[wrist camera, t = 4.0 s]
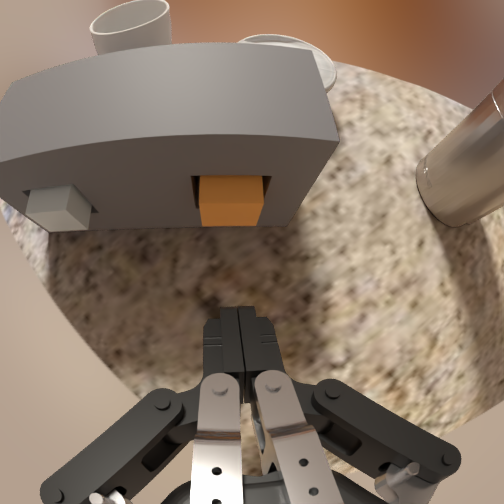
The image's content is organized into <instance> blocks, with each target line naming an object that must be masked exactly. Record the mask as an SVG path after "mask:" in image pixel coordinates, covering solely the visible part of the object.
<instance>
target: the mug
mask: <svg viewBox="0 0 504 504" xmlns="http://www.w3.org/2000/svg"><path fill="white" fill-rule="evenodd" d="M171 29H172V28H171V19H170V14H169V4H168V3H167V2H166V1H165V0H136V1H132V2H128V3H125V4H122V5H119V6H116V7H114V8H112V9H110V10H108V11H106V12H105V13H103V14H101V15H100V16H99V17H97V18H96V19H95V20H94V21H93V22H92V24H91V25H90V32H91V35H92V38H93V42H94V45H95V48H96V51H97V54H98V55H102V54H107V53H112V52H117V51H123V50H129V49H136V48H143V47H151V46H160V45H171V43H172V41H171V38H172V30H171Z"/></svg>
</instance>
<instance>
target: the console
mask: <svg viewBox="0 0 504 504" xmlns="http://www.w3.org/2000/svg"><path fill="white" fill-rule="evenodd" d="M339 142H340V140H339V136H338V132H337V129H336V125H335V121H334V118H333V114H332V111H331V107H330V104H329V101H328V97H327V94H326V91H325V88H324V85H323V81H322V78H321V75H320V72H319V69H318V67H317V64H316V61H315V58H314V55H313V52H312V50H307V49H300V48H293V47H284V46H275V45H264V44H249V43H185V44H171V45H160V46H151V47H143V48H136V49H129V50H123V51H117V52H112V53H107V54H102V55H98V56H94V57H89V58H85V59H81V60H77V61H73V62H70V63H66V64H63V65H59V66H56V67H53V68H50V69H47V70H44V71H41V72H38V73H35V74H33V75H30V76H27V77H25V78H22V79H20V80H17V81H15V82H12V83H11V85H10V87H9V89H8V90H7V92H6V94H5V95H4V97H3V99H2V100H1V102H0V198H1V199H3V200H4V201H5V202H7V203H8V204H9V205H11V206H12V207H13V208H15V209H16V210H17V211H19V212H20V213H21V214H23V215H24V216H26V217H27V218H28V219H30V220H31V221H33V222H34V223H35V224H37V225H38V226H40V227H41V228H43V229H44V230H45V231H47V232H48V233H50V231H48V230H47V229H45V228H44V227H42V226H41V225H40V224H38V223H37V222H35V221H34V220H33V219H31V218H30V217H28V216H27V215H26V214H25V212H26V208H27V203H28V199H29V195H30V191H31V190H32V189H39V188H46V187H53V186H60V185H68V184H74V185H75V186H76V187H77V188H78V189H79V191H80V192H81V193H82V194H83V195H84V196H85V197H86V199H87V200H88V201H89V202H90V203H91V204H92V207H91V214H90V220H89V227H88V230H73V231H90V230H114V229H142V228H180V227H254V226H202V221H201V214H200V207H199V186H200V175H259V176H262V182H263V196H264V205H263V207H262V210H261V213H260V216H259V219H258V222H257V224H256V226H287V225H288V223H289V222H290V220H291V219H292V217H293V215H294V214H295V212H296V211H297V209H298V208H299V206H300V204H301V203H302V201H303V200H304V198H305V197H306V195H307V193H308V192H309V190H310V189H311V187H312V185H313V184H314V182H315V181H316V179H317V177H318V176H319V174H320V173H321V171H322V169H323V168H324V166H325V165H326V163H327V161H328V160H329V158H330V157H331V155H332V153H333V152H334V150H335V148H336V147H337V145H338V144H339ZM55 232H69V231H55Z"/></svg>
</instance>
